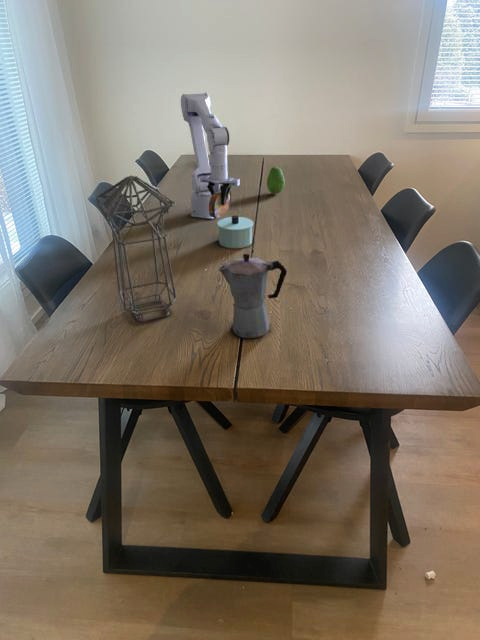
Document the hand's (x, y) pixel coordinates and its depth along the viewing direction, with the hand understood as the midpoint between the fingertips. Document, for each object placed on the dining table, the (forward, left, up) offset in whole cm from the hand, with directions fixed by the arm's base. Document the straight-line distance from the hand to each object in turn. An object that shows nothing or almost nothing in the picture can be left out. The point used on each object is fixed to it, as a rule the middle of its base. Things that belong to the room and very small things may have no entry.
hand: (220, 204), depth 163 cm
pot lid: (+10, -9, -3) cm, 14 cm away
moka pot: (+35, -58, -10) cm, 69 cm away
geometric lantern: (+7, -60, -10) cm, 62 cm away
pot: (+10, -9, -9) cm, 17 cm away
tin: (-1, 0, -4) cm, 4 cm away
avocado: (+5, +48, -3) cm, 48 cm away
